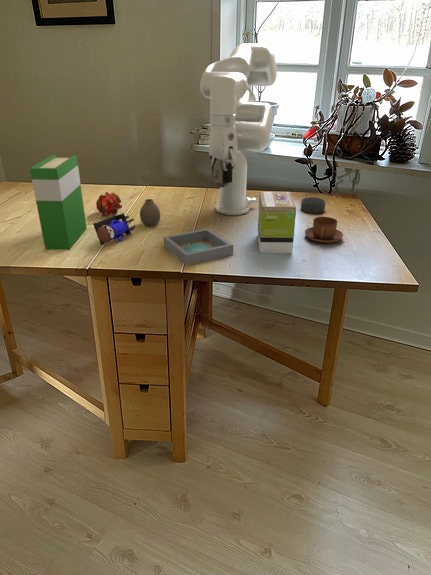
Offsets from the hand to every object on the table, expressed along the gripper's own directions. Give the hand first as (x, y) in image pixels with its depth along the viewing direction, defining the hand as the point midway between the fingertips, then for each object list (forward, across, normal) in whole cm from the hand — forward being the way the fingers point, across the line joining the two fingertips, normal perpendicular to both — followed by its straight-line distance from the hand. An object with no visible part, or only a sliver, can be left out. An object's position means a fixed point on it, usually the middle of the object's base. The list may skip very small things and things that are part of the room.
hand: (221, 179), depth 140 cm
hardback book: (+16, +15, +48) cm, 53 cm away
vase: (+17, +14, +20) cm, 30 cm away
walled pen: (+16, -13, +16) cm, 26 cm away
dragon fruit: (+17, +31, +29) cm, 46 cm away
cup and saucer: (+17, -23, -24) cm, 38 cm away
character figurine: (+16, +7, +34) cm, 39 cm away
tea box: (+17, -20, -7) cm, 27 cm away
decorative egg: (+3, 0, 0) cm, 3 cm away
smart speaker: (+18, 0, -40) cm, 44 cm away
